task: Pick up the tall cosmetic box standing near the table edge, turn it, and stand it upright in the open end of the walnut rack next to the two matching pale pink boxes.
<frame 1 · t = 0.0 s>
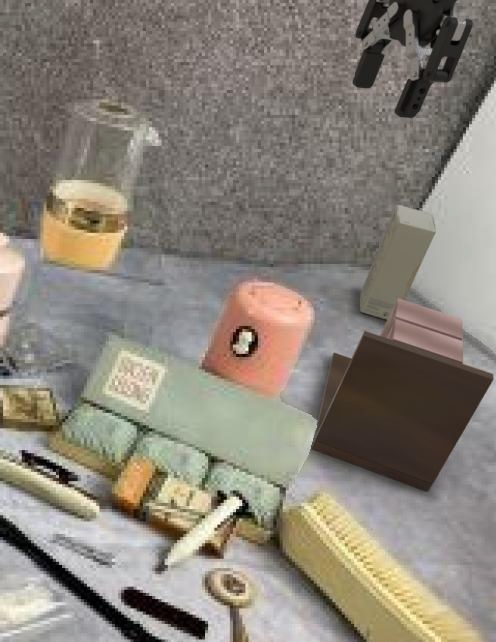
hand: (381, 101, 99), 25 cm above the countertop, tool pointing down, fingers open, 8 cm apart
rack: (375, 419, 95), on the countertop
cosmetic box: (375, 307, 116), on the countertop
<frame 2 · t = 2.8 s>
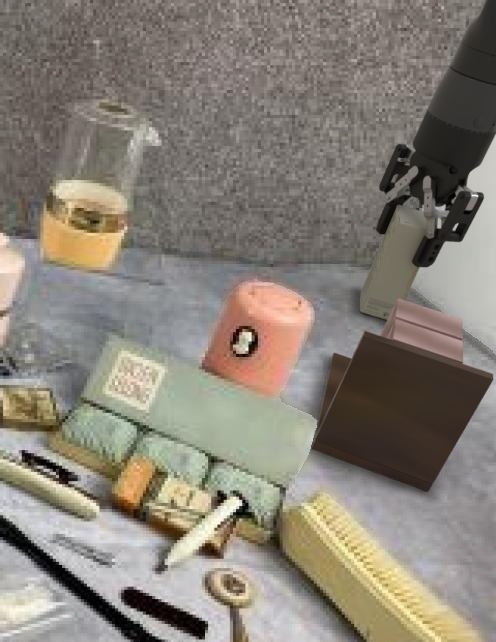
hand: (401, 248, 111), 8 cm above the countertop, tool pointing down, fingers closed on cosmetic box, 7 cm apart
cosmetic box: (375, 307, 116), on the countertop, touching gripper
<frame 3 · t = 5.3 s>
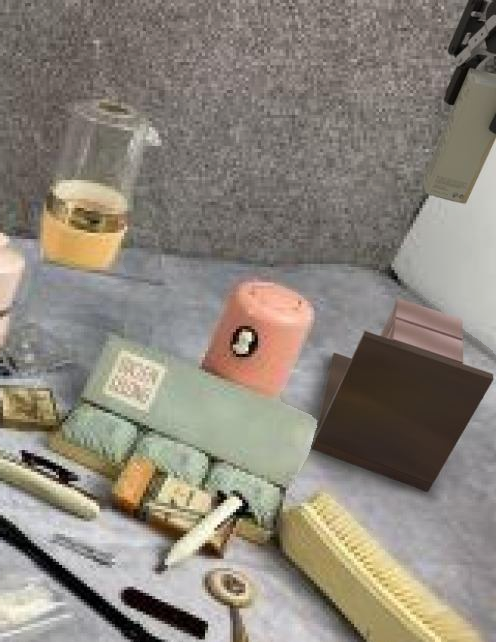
hand: (474, 117, 96), 26 cm above the countertop, tool pointing down, fingers closed on cosmetic box, 7 cm apart
cosmetic box: (441, 191, 101), point 18 cm above the countertop, touching gripper
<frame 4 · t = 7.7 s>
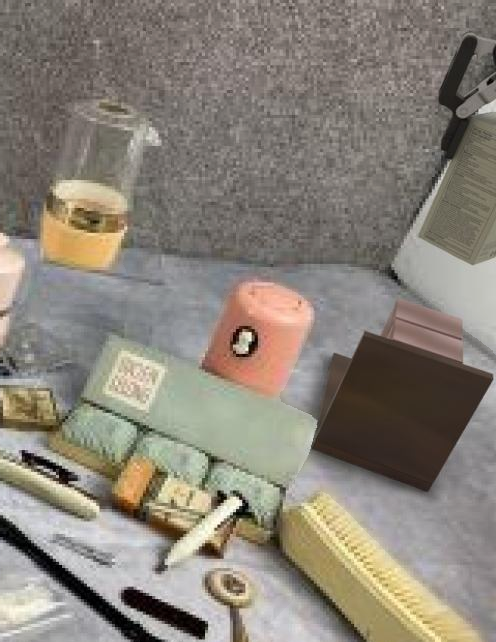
hand: (492, 168, 84), 26 cm above the countertop, tool pointing down, fingers closed on cosmetic box, 7 cm apart
cosmetic box: (452, 249, 89), point 17 cm above the countertop, touching gripper
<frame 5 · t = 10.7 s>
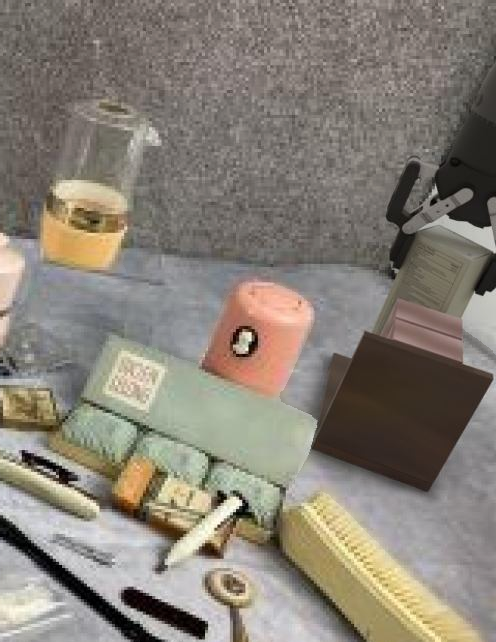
hand: (436, 278, 91), 14 cm above the countertop, tool pointing down, fingers closed on cosmetic box, 7 cm apart
cosmetic box: (402, 348, 95), point 6 cm above the countertop, touching gripper
when the fingers open (9 cm above the countertop, at t = 12.9 s): cosmetic box stays where it is, resting on rack.
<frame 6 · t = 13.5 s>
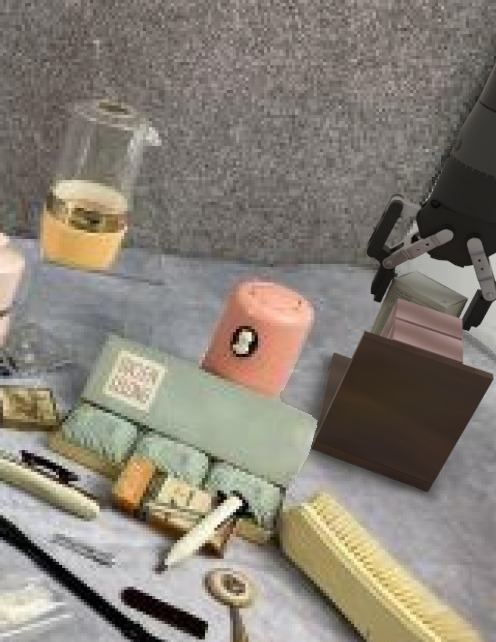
hand: (420, 312, 93), 10 cm above the countertop, tool pointing down, fingers open, 8 cm apart
cosmetic box: (382, 388, 98), point 1 cm above the countertop, touching rack
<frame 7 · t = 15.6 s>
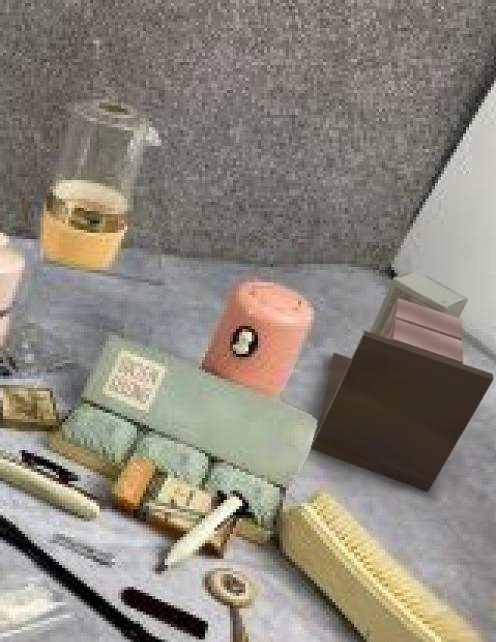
nothing on the countertop moved.
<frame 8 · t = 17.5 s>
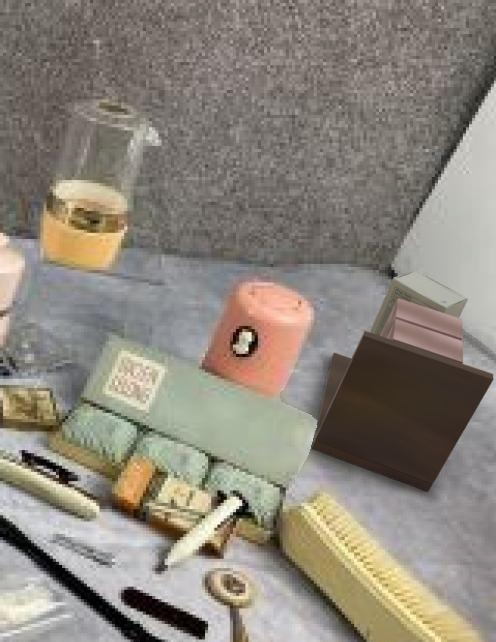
nothing on the countertop moved.
at the end: cosmetic box 0.2 cm from the target spot on the rack, point 0.8 cm above the rack's base; cosmetic box tilted 0°; the gripper is holding nothing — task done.
